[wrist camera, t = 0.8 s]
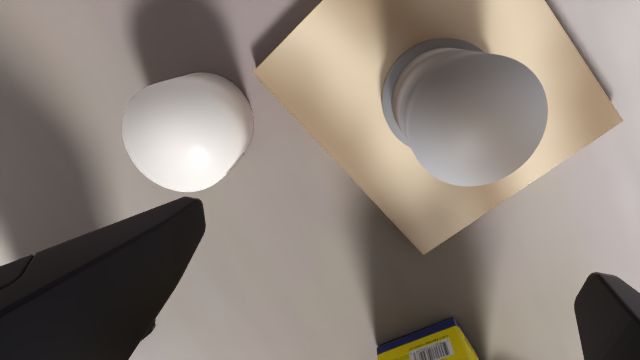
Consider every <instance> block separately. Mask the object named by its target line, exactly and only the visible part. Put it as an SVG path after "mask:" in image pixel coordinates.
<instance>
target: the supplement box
mask: <svg viewBox="0 0 640 360" xmlns="http://www.w3.org/2000/svg"><path fill="white" fill-rule="evenodd" d="M377 355H378V360H480V359H479V357H478V355H477V353H476V351H475V350H474V348H473V347H472V345H471V343H470V341H469V340H468V338H467V336H466V335H465V333H464V331H463V329H462V328H461V326H460V325H459V323H458V322H457V320H456V319H455V318H451V319H449V320H446V321H444V322H441V323H438V324H436V325H433V326H430V327H428V328H425V329H423V330H420V331H418V332H415V333H412V334H410V335H407V336H404V337H402V338H399V339H397V340H394V341H392V342H389V343H386V344H384V345H381V346H379V347H378V348H377Z"/></svg>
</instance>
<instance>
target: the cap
mask: <svg viewBox="0 0 640 360" xmlns="http://www.w3.org/2000/svg"><path fill="white" fill-rule="evenodd" d="M253 131H254V117H253V113H252V109H251V106H250V104H249V102H248V100H247V98H246V97H245V95H244V94H243V93H242V92H241V90H240V89H239V88H238V87H237V86H236V85H235V84H233V83H232V82H230V81H229V80H227V79H226V78H224V77H221V76H219V75H216V74H212V73H206V72H198V73H192V74H188V75H184V76H181V77H177V78H173V79H169V80H166V81H162V82H158V83H155V84H152V85H149V86H147V87H145V88H143V89H142V90H140V91H139V92H138V93H137V94H136V95H135V96H134V97H133V98H132V99H131V100H130V102H129V103H128V105H127V107H126V109H125V112H124V115H123V121H122V135H123V140H124V144H125V147H126V150H127V152H128V154H129V156H130V158H131V160H132V161H133V163H134V164H135V165H136V167H137V168H138V169H139V170H140V171H141V172H142V173H143V174H144V175H145V176H146V177H148V178H149V179H150V180H152V181H153V182H155V183H156V184H158V185H160V186H162V187H165V188H168V189H170V190H175V191H180V192H194V191H199V190H203V189H206V188H208V187H210V186H212V185H214V184H215V183H217V182H218V181H220V180H221V179H222V178H223V177H224V176H225V175H226V174H228V172H229V171H230V170H231V169H232V168H233V166H234V165H235V164H236V163H237V162H238V160H239V159H240V158H241V157H242V156H243V154H244V151H245V150H246V149H247V147H248V146H249V144H250V142H251V139H252V136H253Z"/></svg>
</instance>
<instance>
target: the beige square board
mask: <svg viewBox="0 0 640 360" xmlns="http://www.w3.org/2000/svg"><path fill="white" fill-rule="evenodd" d="M252 73H253V74H254V75H255V76H256V77H257V78H258V79H259V80H260V81H261V82H262V83H263V84H264V86H265V87H266V88H267V89H268V90H269V91H270V92H271V93H272V94H273V95H274V96H275V97H276V98H277V99H278V100H279V102H280V103H281V104H282V105H283V106H284V107H285V108H286V109H287V110H288V111H289V112H290V113H291V114H292V115H293V116H294V118H295V119H296V120H297V121H298V122H299V123H300V124H301V125H302V126H303V127H304V128H305V129H306V130H307V131H308V132H309V134H310V135H311V136H312V137H313V138H314V139H315V140H316V141H317V142H318V143H319V144H320V145H321V146H322V147H323V148H324V150H325V151H326V152H327V153H328V154H329V155H330V156H331V157H332V158H333V159H334V160H335V161H336V162H337V163H338V164H339V166H340V167H341V168H342V169H343V170H344V171H345V172H346V173H347V174H348V175H349V176H350V177H351V178H352V179H353V180H354V182H355V183H356V184H357V185H358V186H359V187H360V188H361V189H362V190H363V191H364V192H365V193H366V194H367V195H368V196H369V198H370V199H371V200H372V201H373V202H374V203H375V204H376V205H377V206H378V207H379V208H380V209H381V210H382V211H383V212H384V214H385V215H386V216H387V217H388V218H389V219H390V220H391V221H392V222H393V223H394V224H395V225H396V226H397V227H398V228H399V230H400V231H401V232H402V233H403V234H404V235H405V236H406V237H407V238H408V239H409V240H410V241H411V242H412V243H413V244H414V246H415V247H416V248H417V249H418V250H419V251H420V252H421V253H422V254H423V255H425V254H426V253H428V252H429V251H431V250H432V249H434V248H435V247H436V246H438V245H439V244H441V243H442V242H444V241H445V240H447V239H448V238H450V237H451V236H453V235H454V234H456V233H457V232H459V231H460V230H462V229H463V228H465V227H466V226H468V225H469V224H471V223H472V222H474V221H475V220H477V219H478V218H480V217H481V216H483V215H484V214H486V213H487V212H489V211H490V210H491V209H493V208H494V207H496V206H497V205H499V204H500V203H502V202H503V201H505V200H506V199H508V198H509V197H511V196H512V195H514V194H515V193H517V192H518V191H520V190H521V189H523V188H524V187H526V186H527V185H529V184H530V183H532V182H533V181H535V180H536V179H538V178H539V177H541V176H542V175H544V174H545V173H546V172H548V171H549V170H551V169H552V168H554V167H555V166H557V165H558V164H560V163H561V162H563V161H564V160H566V159H567V158H569V157H570V156H572V155H573V154H575V153H576V152H578V151H579V150H581V149H582V148H584V147H585V146H587V145H588V144H590V143H591V142H593V141H594V140H596V139H597V138H599V137H600V136H601V135H603V134H604V133H606V132H607V131H609V130H610V129H612V128H613V127H615V126H616V125H618V124H619V123H621V122H622V121H623V119H622V118H621V116H620V115H619V113H618V112H617V110H616V109H615V107H614V106H613V104H612V103H611V101H610V100H609V98H608V96H607V95H606V93H605V92H604V90H603V89H602V87H601V86H600V84H599V83H598V81H597V80H596V78H595V77H594V75H593V74H592V72H591V70H590V69H589V67H588V66H587V64H586V63H585V61H584V60H583V58H582V57H581V55H580V54H579V52H578V51H577V49H576V48H575V46H574V44H573V43H572V41H571V40H570V38H569V37H568V35H567V34H566V32H565V31H564V29H563V28H562V26H561V25H560V23H559V21H558V20H557V18H556V17H555V15H554V14H553V12H552V11H551V9H550V8H549V6H548V5H547V3H546V2H545V0H322V1H321V2H320V4H319V5H318V6H317V7H316V8H315V9H314V10H313V11H312V12H311V13H310V14H309V15H308V16H307V17H306V18H305V19H304V20H303V21H302V22H301V23H300V24H299V25H298V26H297V27H296V28H295V29H294V30H293V31H292V32H291V33H290V34H289V35H288V36H287V37H286V38H285V39H284V40H283V42H282V43H281V44H280V45H279V46H278V47H277V48H276V49H275V50H274V51H273V52H272V53H271V54H270V55H269V56H268V57H267V58H266V59H265V60H264V61H263V62H262V63H261V64H260V65H259V66H258V67H257V68H256V69H255V70H254V71H253V72H252Z"/></svg>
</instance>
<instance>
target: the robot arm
mask: <svg viewBox="0 0 640 360" xmlns="http://www.w3.org/2000/svg"><path fill="white" fill-rule="evenodd" d="M205 228H206V224H205V216H204V209H203V203H202V201H201V200H200V199H198V198H193V197H182V198H179V199H177V200H174V201H171V202H169V203H166V204H164V205H161V206H158V207H156V208H153V209H150V210H148V211H145V212H143V213H140V214H137V215H135V216H132V217H129V218H127V219H124V220H122V221H119V222H116V223H114V224H111V225H108V226H106V227H103V228H101V229H98V230H95V231H93V232H90V233H87V234H85V235H82V236H79V237H77V238H74V239H72V240H69V241H66V242H64V243H61V244H58V245H56V246H53V247H51V248H48V249H45V250H43V251H40V252H37V253H36V254H35V255H29V256H27V257H24V258H21V259H19V260H16V261H14V262H11V263H8V264H6V265H3V266H0V360H128V359H129V358H130V356H131V355H132V353H133V352H134V350H135V349H136V347H137V346H138V344H139V342H140V341H141V340H143V339H144V338H145V337H146V336H148V335H149V334H150V333H151V332H152V331H153V329H154V328H155V322H154V320H155V318H156V317H157V315H158V314H159V312H160V311H161V309H162V308H163V306H164V305H165V303H166V301H167V300H168V298H169V297H170V295H171V294H172V292H173V291H174V289H175V288H176V286H177V284H178V283H179V281H180V279H181V277H182V276H183V274H184V272H185V270H186V268H187V266H188V264H189V262H190V260H191V258H192V256H193V254H194V252H195V250H196V248H197V246H198V244H199V243H200V241H201V239H202V237H203V235H204V232H205ZM574 310H575V315H576V320H577V325H578V330H579V335H580V340H581V345H582V350H583V355H584V360H640V293H639V292H638V291H636V290H635V289H633V288H632V287H631V286H629V285H628V284H627V283H625V282H624V281H623V280H621V279H620V278H618V277H617V276H614V275H609V274H604V273H598V272H594V273H591V274H590V275H589V276H588V278H587V280H586V281H585V283H584V285H583V286H582V288H581V290H580V292H579V293H578V295H577V297H576V299H575V303H574Z"/></svg>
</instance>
